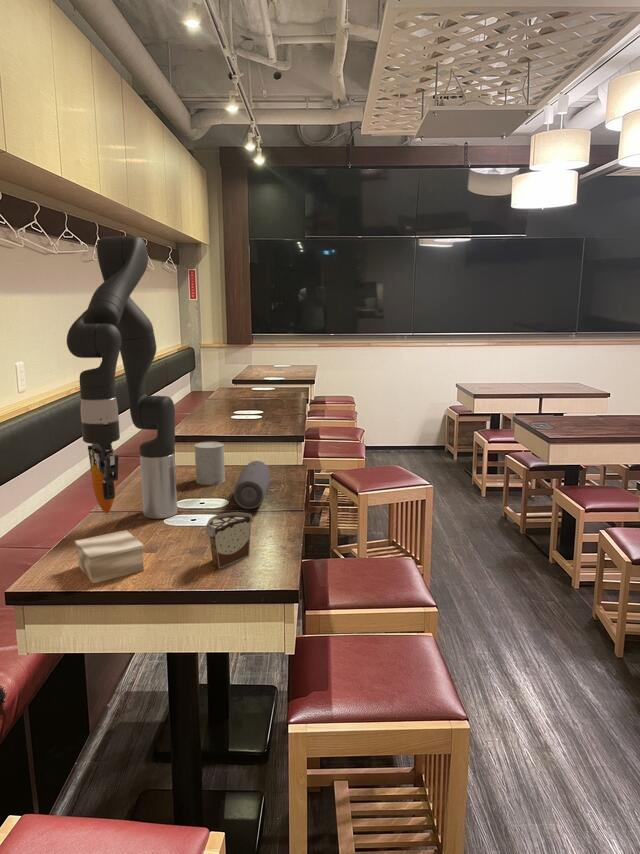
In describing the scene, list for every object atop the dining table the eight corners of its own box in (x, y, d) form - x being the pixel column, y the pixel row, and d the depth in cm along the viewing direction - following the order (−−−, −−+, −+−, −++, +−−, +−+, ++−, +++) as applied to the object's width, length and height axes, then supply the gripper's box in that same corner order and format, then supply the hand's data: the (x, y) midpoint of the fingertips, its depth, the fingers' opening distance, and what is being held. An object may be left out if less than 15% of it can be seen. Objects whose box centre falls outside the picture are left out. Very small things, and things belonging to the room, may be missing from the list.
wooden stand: (76, 566, 142) (74, 540, 141) (127, 554, 149) (126, 529, 148) (91, 584, 133) (89, 557, 132) (145, 570, 140) (143, 545, 138)
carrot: (94, 518, 135) (88, 450, 132) (95, 511, 140) (90, 445, 137) (118, 516, 137) (113, 448, 134) (118, 509, 141) (114, 443, 139)
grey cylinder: (223, 484, 205) (221, 447, 202) (193, 485, 205) (191, 448, 202) (226, 476, 214) (225, 441, 212) (198, 477, 214) (197, 441, 212)
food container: (235, 547, 152) (234, 508, 151) (253, 554, 149) (252, 513, 147) (195, 564, 143) (193, 522, 141) (213, 571, 139) (212, 528, 137)
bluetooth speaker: (242, 489, 200) (241, 459, 198) (271, 489, 200) (271, 459, 198) (232, 513, 177) (231, 479, 175) (265, 513, 177) (264, 479, 175)
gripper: (72, 415, 138) (78, 491, 141) (91, 426, 126) (97, 507, 130) (107, 412, 142) (112, 485, 146) (128, 422, 131) (133, 501, 134)
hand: (105, 495), depth 138 cm, fingers closed on carrot, 4 cm apart
